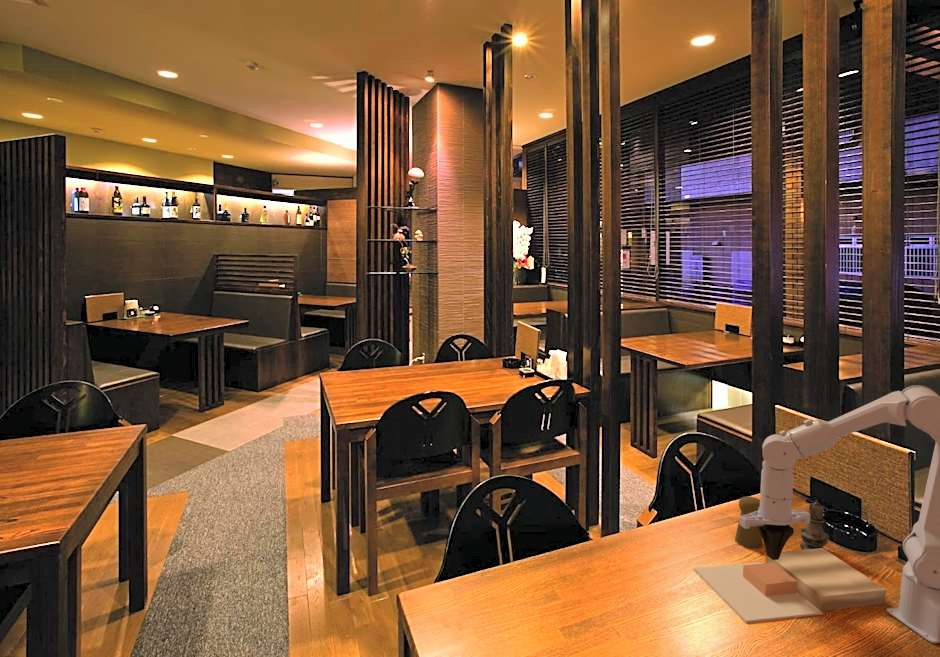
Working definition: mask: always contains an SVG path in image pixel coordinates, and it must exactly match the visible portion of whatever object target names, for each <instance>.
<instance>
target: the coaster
mask: <svg viewBox="0 0 940 657" xmlns="http://www.w3.org/2000/svg"><path fill="white" fill-rule="evenodd" d="M743 577H744V578H745V579H746V580H747V581H749V582H750V583H751V584H752V585H753V586H754V587H755V588H757V589H758V590H759V591H760V592H761V593H762V594H763V595H764V596H770V595H779V594H789V593H796V592H797V581H796V580H795V579H794V578H793V577H791V576H790V575H789V574H787V573H786V572H785V571H784V570H782V569H781V568H780V567H778V566H777V565H776V564H775V563H766V562H765V563H762V564H753V565H743Z"/></svg>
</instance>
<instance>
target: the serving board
mask: <svg viewBox="0 0 940 657" xmlns="http://www.w3.org/2000/svg"><path fill="white" fill-rule="evenodd" d="M824 548H825V547H824ZM824 548H818V549H807V550H803V549H798V550H797V549H796V550H787V551H785V550H784V551H782V552H781V555H780V557H779V560H772V559H771V558H770V557H768V556H767V554H766V553H765V563H775V564H776V565H777V566H778V567H780V568H781V569H782V570H784V571H785V572H786V573H787V574H789V575H790V576H791V577H793V578H794V579H795V580H796V581H797V592H798V593H799V594H800V595H802V596H803V597H804V598H805V599H807V600H808V601H809V602H810V603H812V604H813V605H814V606H815V607H817V608H818V609H819V610H820V611H821V612H823V611H833V610H841V609H851V608H859V607H868V606H869V607H870V606H879V605H885V604H886V593H887V589H885V588H884V587H883V586H881V585H879V584H878V583H877V582H875V581H874V580H872V579H870V578H869V577H868V576H866V575H865V574H863V573H862V572H860V571H858V570H857V569H855V568H854V567H853V566H851V565H849V564H848V563H846V562H845V561H844V560H842V559H841V558H838V557H837V556H836V555H834V554H833V553H832V552H830V551H828V550H827V549H826V548H825V549H826V550H825V549H824Z"/></svg>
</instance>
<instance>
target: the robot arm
mask: <svg viewBox="0 0 940 657" xmlns="http://www.w3.org/2000/svg"><path fill="white" fill-rule="evenodd" d="M906 421H909V423H911V425H913V426H914V427H916V428H917V429H919V430H921V431H923V432H924V433H927V434H928V435H929V436H930V437H931V439H933V440H934V442H935V443H934V444H935V445H934V449H933V452H932V458H931V463H930V467H929V471H928V477H927V480H926V481H927V482H926V484H925V490H924V495H923V498H922V504H921V507H920V512H919V518H918V521H917V522H916V523H914V524H913V526H912V529H911V530H912V531H911V532H910V534H908V535H907V536H906V537H905V538H904V540H903V542H902V550H903V551H902V552H903V553H904V555H905V556H906V558H907V561H906V563H905V564H904V566H903V567H902V570H901V571H902V574H901V583H900V592H899V605H898V606H896V607H895V606H894V607H887V608H886V610H885V612H887V613H888V614H890V615H891V616H893V617H894V618H895V619H897V620H898V621H900V622H901V623H902V624H904V625H906V627H908V628H910V629H911V630H913V631H914V632H915V633H917V634H918V635H919V636H920V637H922V638H924V639H925V640H927V642H929V643H931V644H940V395H939V394H938V393H937V392H936V391H934V390H933V389H932V388H930V387H928V386H924V385H910V386H908V387H905V388H904V389H902V391H900V390H895V391H891V392H890V393H887V394H886V395H884V396H882V397H880V398H878V399H875V400H873V401H870V402H869V403H866V404H864V405H862V406H860V407H858V408H856V409H853V410H851V411H849V412H846V413H845V414H843V415H839V416H838V417H836V418H833V419H831V420H828V421H827V420H823V419H821V418H820V419H819V418H816V419H814V420H812V419H811V418H808V419H804V420H803V424H802V425H798V426H797V427H794V428H792V429H790V430H785V429H783V430H781V431H780V432H779V434H777V433H776V434H771V435H769V436H767V437H766V438H765V439H764V441H763V443H762V445H761V448H762V458H763V461H762V462H761V463H762V464H761V465H762V469H761V475H760V476H761V477H760V494H759V497H760V498H759V500H760V507H759V509H758V511H755V512H752V513H749V514H746V515H741V516H740V515H739V518H740V519H738V522H739V524H740V525H741V526H742V527H744V528H745V529H749V528H750V527H752V526H757V527H758V529H759V531H760V533H761V536H762V540H763V546H764V548H765V555H766V554H767V556H768V557H770V558H771V559H772V560H779V557H780V555H781V552H783V549H784V548H785V545H786V544H787V542H788V541H789V539H790V538H791V536H793V535H794V531H795V530H794V527H792V526H790V525H791V524H796V523H804V524H807V523H810V514H809V512H807V511H805V510H803V509H802V510H801V509H800V510H798V509H797V510H796V509H795V510H794V509H792V508H793V492H794V491H793V489H794V476H795V475H794V474H793V473H794V472H793V469H794V468H793V467H794V466H795V464H796V463H797V460H799V459H800V460H803V459H806V458H808V457H811V456H813V455H815V454H818V453H820V452H823V451H826V450H829V449H831V448H834V447H835V446H836V444H837V443H838V442H837V441H838V439H839V438H841V437H844V436H847V435H850V434H852V433H856V432H859V431H861V430H864V429H867V428H871V427H873V426H876V425H880V424H883V423H887V424H892V425H896V426H901V427H907V423H906Z"/></svg>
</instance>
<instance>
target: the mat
mask: <svg viewBox="0 0 940 657" xmlns="http://www.w3.org/2000/svg"><path fill="white" fill-rule="evenodd" d="M753 564H763V563H762V562H761V561H758V562H756V561H755V562H746V563H745V562H744V563H737V564H736V563H735V564H725V565H715V566H704V567H703V566H702V567H693V571H694V572H695V573H696V574H697V575H698V576H699V578H701V579H702V580H703V581H704V583H705V584H707V585H708V586H709V588H711V589H712V591H714V592H715V593H716V594H717V595H718V596H719V597H720V599H722V600H723V601H724V602H725V603H726V605H728V607H730V608H731V609H732V610H733V611H734V612H735V614H737V616H739V618H740V619H741V620H743V622H744V623H748V624H749V623H756V622H765V621H775V620H776V621H777V620H782V619H783V620H785V619H792V618H801V617H809V616H811V617H812V616H819V615H820V616H822V615H823V613H824V612H823V611H820V610H819V609H818V608H817V607H815V606H814V605H813V604H812V603H810V602H809V601H808V600H807V599H806V598H804V597H803V596H802V595H801V594H799V593H798V592H796V593H789V594H779V595H770V596H764V595H763V594H762V593H761V592H760V591H759V590H758V589H757V588H755V587H754V586H753V585H752V584H751V583H750V582H749V581H747V580H746V579H745V578H744V577H743V565H753Z"/></svg>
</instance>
